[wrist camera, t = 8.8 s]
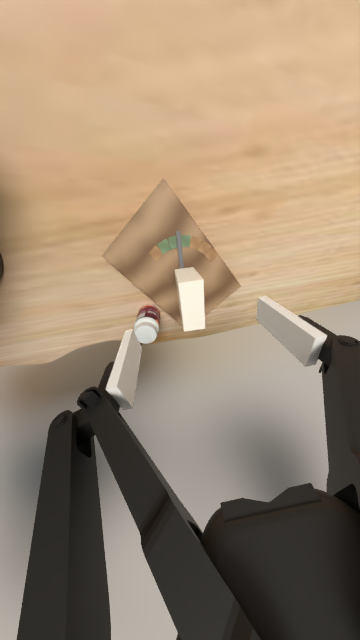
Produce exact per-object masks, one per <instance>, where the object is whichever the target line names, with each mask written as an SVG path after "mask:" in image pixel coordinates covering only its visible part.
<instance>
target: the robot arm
mask: <svg viewBox="0 0 360 640" xmlns="http://www.w3.org/2000/svg"><path fill="white" fill-rule="evenodd" d="M1 275H2V260H1V256H0V277H1ZM256 320H257V321H258V322H259V323H260V324H261V325H262V326H264V328H266V330H268V331H269V332H270V333H271V334H272V335H273V336H274V337H275V338H276V339H277V340H278V341H279V342H280V343H281V344H282V345H283V346H284V347H285V348H286V349H287V350H289V351H290V352H291V353H292V354H293V355H294V356H295V357H296V358H297V359H298V360H299V361H300V362H301V363H302V364H303V365H304V366H305V367H306V366H310V365H315V364H316V363H317V360H318V359H320V360H321V361H322V362H323V363H322V365H321V367H320V370H319V373H321V371H322V380H323V394H324V407H325V420H326V435H327V448H328V462H329V474H328V478H327V492H324V491H321V490H318V489H314V488H313V486H312V484H311V483H308V484H304V485H300V486H295V487H290V488H288V489H286V490H285V491H284V492H282V493H281V494H280V495H279V496H277V497H276V498H275V499H274V500H272V501H271V502H262V501H256V500H250V499H244V498H241V499H236V500H231V501H227V502H222V503H221V508H220V509H218V510H217V511H216V512H215V513H214V514H213V515H212V517H211V518H210V520H209V521H208V523H207V525H206V527H205V530H204V532H202V531H201V529H200V528H199V526H198V525H197V524H196V522H195V520H194V519H193V518H192V516H191V515H190V513H189V512H188V511H187V509H186V508H185V507H184V506H183V504H182V503H181V502H180V501H179V499H178V497H177V496H176V494H175V493H174V492H173V490H172V489H171V487H170V486H169V484H168V483H167V481H166V480H165V478H164V477H163V475H162V474H161V472H160V471H159V470H158V468H157V467H156V465H155V464H154V462H153V461H152V460H151V458H150V457H149V455H148V454H147V452H146V451H145V449H144V448H143V446H142V445H141V443H140V442H139V441H138V439H137V438H136V436H135V435H134V433H133V432H132V431H131V429H130V428H129V426H128V425H127V423H126V422H125V420H124V419H123V418H122V416H121V414H120V413H119V408H120V407H121V408H122V409H123V410H126V409H130V408H133V404H134V398H135V391H136V384H137V377H138V371H139V365H140V358H141V352H142V347H141V345H140V343H139V341H138V339H137V337H136V335H135V332H134V330H133V329H130V330H126V331H125V334H124V336H123V339H122V342H121V346H120V348H119V351H118V354H117V357H116V360H115V362H110V363H109V364H108V366H107V367H106V369H105V371H104V375H103V377H102V379H101V382H100V384H99V387H98V388H97V387H90V388H88V389H86V390H85V391H84V392H83V393H81V395H80V396H79V398H78V400H77V405H79V406H80V407H81V409H80V410H78V411H76V412H74V413H72V412H71V411H69V410H67V411H64V412H62V413H60V414H59V415H58V416H57V417H56V418H55V419H54V420H53V421H52V423H51V424H50V427H49V431H48V438H47V445H46V452H45V458H44V465H43V471H42V478H41V485H40V490H39V497H38V504H37V510H36V517H35V523H34V530H33V536H32V543H31V550H30V556H29V563H28V569H27V576H26V583H25V589H24V595H23V602H22V608H21V615H20V621H19V628H18V635H17V640H111V623H110V606H109V593H108V583H107V572H106V561H105V551H104V541H103V530H102V519H101V509H100V498H99V488H98V477H97V466H96V456H95V445H94V435H96V437H97V439H98V441H99V444H100V446H101V448H102V450H103V452H104V455H105V456H106V459H107V461H108V463H109V466H110V468H111V470H112V472H113V474H114V476H115V479H116V481H117V483H118V485H119V488H120V490H121V492H122V494H123V496H124V499H125V501H126V503H127V505H128V507H129V510H130V512H131V514H132V516H133V518H134V520H135V523H136V525H137V527H138V529H139V532H140V535H141V545H142V549H143V552H144V555H145V558H146V560H147V562H148V565H149V567H150V569H151V572H152V574H153V576H154V578H155V581H156V583H157V585H158V588H159V590H160V592H161V595H162V597H163V599H164V602H165V604H166V606H167V608H168V611H169V613H170V615H171V617H172V620H173V622H174V625H175V627H176V629H177V631H178V635H177V639H176V640H360V341H358V340H357V339H355V338H352V337H349V336H342V335H339V336H337V335H335V334H333V333H332V332H330V331H329V330H327V329H326V328H324V327H322V326H321V325H319V324H317V323H316V322H314V321H312V320H311V319H309V318H307V317H304V316H301V315H300V316H296V315H295V314H293V313H292V312H290V311H288V310H287V309H285V308H284V307H282V306H281V305H279V304H278V303H276V302H274V301H273V300H271V299H270V298H268V297H267V296H262V297H258V302H257V318H256Z"/></svg>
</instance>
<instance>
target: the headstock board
mask: <svg viewBox="0 0 360 640" xmlns="http://www.w3.org/2000/svg"><path fill="white" fill-rule="evenodd" d="M177 231H180V233H181V243H182V253H183V264H184V268H190V267H194V268H195V270H196V271H197V272H198V273H199V275H200V276H201V277H202V278H203V280H204V310H205V314H207V313H208V312H209V311H210V310H212V309H213V308H214V307H215V306H217V305H218V304H219V303H220V302H222V301H223V300H224V299H225V298H227V297H228V296H229V295H230V294H232V293H233V292H234V291H235V290H236V289H238V288H239V287H240V286H241V285H240V284H239V282H238V281H237V280H236V278H235V277H234V275H233V274H232V273H231V271H230V270H229V268H228V267H227V266H226V264H225V263H224V261H223V260H222V259H221V257H220V256H219V254H218V253H217V252H216V250H215V249H214V247H213V246H212V245H211V243H210V242H209V240H208V239H207V238H206V236H205V235H204V234H203V232H202V231H201V229H200V228H199V227H198V225H197V224H196V222H195V221H194V220H193V218H192V217H191V215H190V214H189V213H188V211H187V210H186V208H185V207H184V206H183V204H182V203H181V201H180V200H179V199H178V197H177V196H176V194H175V193H174V192H173V190H172V189H171V187H170V186H169V185H168V183H167V182H166V180H165V179H164V178H163V179H162V180H161V181H160V183H159V184H158V185H157V187H156V188H155V189H154V190H153V192H152V193H151V194H150V195H149V197H148V198H147V199H146V201H145V202H144V203H143V204H142V206H141V207H140V208H139V209H138V211H137V212H136V213H135V215H134V216H133V217H132V218H131V220H130V221H129V222H128V223H127V225H126V226H125V227H124V229H123V230H122V231H121V232H120V234H119V235H118V236H117V237H116V239H115V240H114V241H113V243H112V244H111V245H110V246H109V248H108V249H107V250H106V251H105V253H104V254H103V255H102V257H104V258H105V259H106V260H107V261H108V262H109V263H110V264H112V265H113V266H114V267H115V268H116V269H117V270H118V271H120V272H121V273H122V274H123V275H124V276H125V277H127V278H128V279H129V280H130V281H131V282H132V283H133V284H135V285H136V286H137V287H138V288H139V289H140V290H141V291H143V292H144V293H145V294H146V295H147V296H148V297H150V298H151V299H152V300H153V301H154V302H155V303H156V304H158V305H159V306H160V307H161V308H162V309H163V310H164V311H166V312H167V313H168V314H169V315H170V316H171V317H173V318H174V319H175V320H176V321H177V322H178V323H179V324H181V325H182V326H183V324H182V319H181V314H180V309H179V301H178V293H177V286H176V278H175V269H180V265H179V256H178V247H177V238H176V232H177Z"/></svg>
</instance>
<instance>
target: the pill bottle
mask: <svg viewBox="0 0 360 640" xmlns="http://www.w3.org/2000/svg"><path fill="white" fill-rule="evenodd" d="M159 321H160V312H159V310H158V309H157V307H155V306H153V305H144V306H142V307H141V308H140V310H139V312H138V316H137V319H136V322H135V325H134V329H135V335H136V337H137V339H138V341H139V342H141V343H144V344H148V343H151V342H153V341H154V340H155V339H156V337H157V333H158V331H159Z"/></svg>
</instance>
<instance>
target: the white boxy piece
mask: <svg viewBox="0 0 360 640" xmlns="http://www.w3.org/2000/svg"><path fill="white" fill-rule="evenodd" d="M176 238H177V247H178V256H179V265H180V269H175V278H176V286H177V293H178V301H179V309H180V314H181V319H182V324H183V328H184V332H185V331H191V330H198V329H205V310H204V280H203V278H202V277H201V276H200V275H199V273H198V272H197V271H196V270H195V268H194V267H190V268H184V264H183V253H182V243H181V233H180V231H177V232H176Z"/></svg>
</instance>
